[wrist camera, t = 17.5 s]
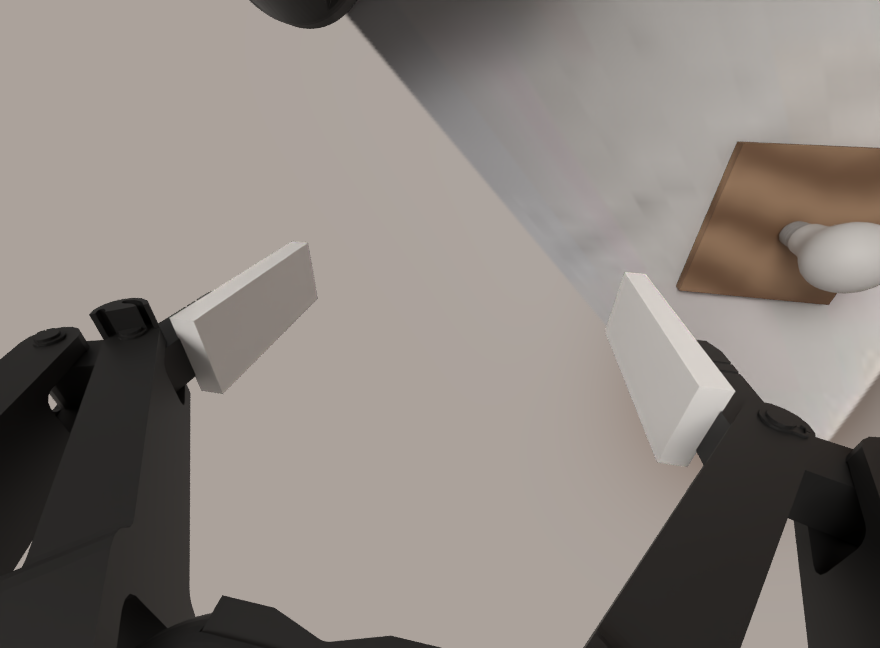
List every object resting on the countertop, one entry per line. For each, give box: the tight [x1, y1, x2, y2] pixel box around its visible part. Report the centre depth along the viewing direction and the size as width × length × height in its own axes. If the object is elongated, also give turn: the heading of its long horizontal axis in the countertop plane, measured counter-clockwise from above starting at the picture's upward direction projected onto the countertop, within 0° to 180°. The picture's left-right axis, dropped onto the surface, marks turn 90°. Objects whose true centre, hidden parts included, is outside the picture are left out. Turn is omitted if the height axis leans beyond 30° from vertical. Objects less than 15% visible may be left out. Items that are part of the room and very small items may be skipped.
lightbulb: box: [779, 221, 880, 293], centre depth 33 cm, size 6×6×11 cm
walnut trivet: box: [676, 142, 880, 305], centre depth 38 cm, size 16×16×1 cm
